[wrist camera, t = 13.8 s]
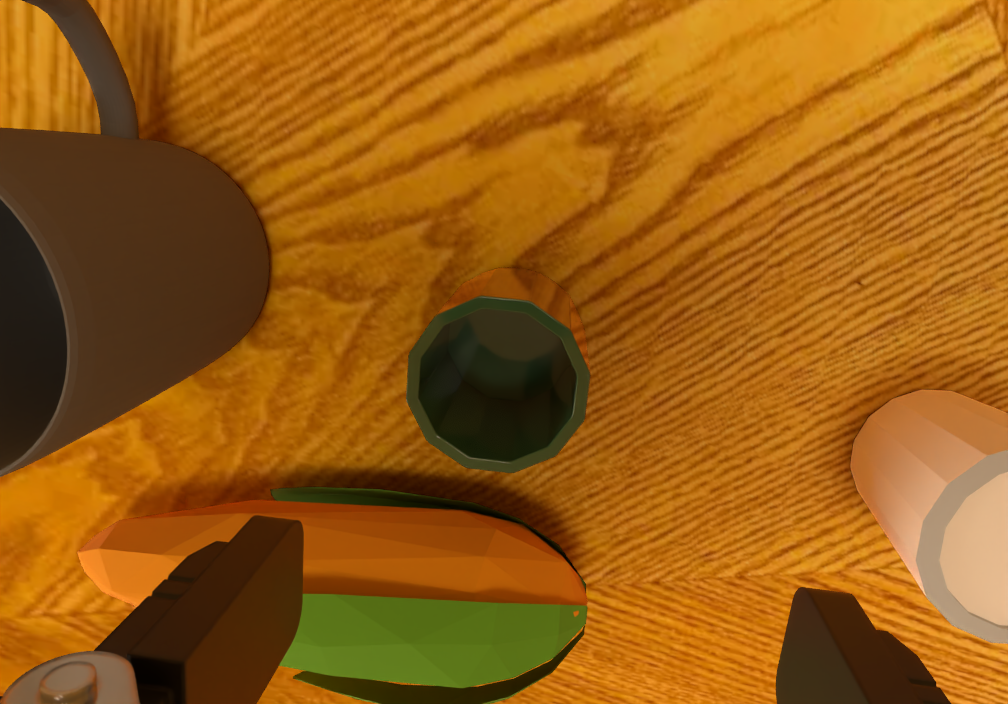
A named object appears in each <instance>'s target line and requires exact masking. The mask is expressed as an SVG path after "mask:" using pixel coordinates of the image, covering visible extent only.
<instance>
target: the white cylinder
mask: <svg viewBox="0 0 1008 704" xmlns="http://www.w3.org/2000/svg"><path fill="white" fill-rule="evenodd" d="M850 468H851V472H852V475H853V478H854V482H855V485H856V488H857V491H858V492H859V494H860V496H861V497H862V499H863V500H864V502H865V503H866V505H867V506H868V508H869V509H870V511H871V513H872V514H873V516H874V517H875V519H876V520H877V522H878V523H879V525H880V526H881V528H882V530H883V531H884V533H885V534H886V536H887V537H888V539H889V540H890V542H891V543H892V545H893V546H894V548H895V550H896V551H897V553H898V554H899V556H900V557H901V559H902V560H903V562H904V563H905V565H906V567H907V568H908V570H909V571H910V573H911V574H912V576H913V577H914V579H915V580H916V582H917V584H918V585H919V587H920V588H921V590H922V591H923V593H924V594H925V596H926V597H927V598H928V599H929V601H930V602H931V603H932V604H933V605H934V606H935V607H936V608H937V609H938V610H939V611H940V612H941V614H942V615H943V616H944V617H945V618H946V619H947V620H948V621H949V622H950V623H951V624H952V625H953V626H955V627H957V628H959V629H961V630H964V631H966V632H968V633H971V634H973V635H975V636H977V637H980V638H982V639H984V640H986V641H989V642H991V643H1007V644H1008V413H1007V412H1004V411H1002V410H999V409H997V408H994V407H992V406H989V405H986V404H984V403H981V402H979V401H976V400H974V399H971V398H969V397H966V396H964V395H961V394H959V393H956V392H954V391H948V390H923V389H921V390H918V391H915V392H912V393H909V394H906V395H903V396H899V397H896V398H893V399H892V400H890V401H889V402H888V403H886V404H885V405H884V406H882V407H881V408H880V409H878V410H877V411H876V412H874V413H873V414H872V415H870V416H869V417H868V419H867V420H866V422H865V424H864V425H863V427H862V428H861V430H860V432H859V433H858V435H857V436H856V438H855V440H854V443H853V450H852V456H851V463H850Z"/></svg>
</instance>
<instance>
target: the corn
mask: <svg viewBox="0 0 1008 704" xmlns="http://www.w3.org/2000/svg"><path fill="white" fill-rule="evenodd" d="M270 491H271V495H272V496H273V498H274V499H275V500H276V501H270V500H249V501H242V502H236V503H229V504H222V505H216V506H209V507H203V508H196V509H189V510H183V511H176V512H169V513H163V514H156V515H150V516H143V517H136V518H130V519H123V520H119V521H117V522H116V523H114V524H113V525H111V526H109V527H108V528H106V529H105V530H103V531H101V532H100V533H98V534H96V535H95V536H94V537H93V538H92V539H91V540H90V541H89V542H88V543H86V544H85V545H84V546H83V547H82V548H81V549H80V550H79V551H78V552H77V554H78V556H79V559H80V561H81V564H82V567H83V569H84V572H85V573H86V574H87V575H88V576H89V578H90V579H91V580H92V581H93V582H94V583H95V584H96V585H97V586H98V587H99V588H100V589H101V590H102V592H103V593H106V594H108V595H110V596H113V597H115V598H118V599H120V600H122V601H125V602H127V603H129V604H132V605H134V606H137V607H138V606H139V605H140V603H141V602H142V601H143V600H144V599H145V598H146V597H147V596H151V595H152V591H153V590H154V589H155V588H156V587H157V586H158V585H159V584H160V583H161V582H162V581H163V580H164V579H166V580H167V579H168V575H169V574H170V573H171V572H172V571H173V570H174V569H175V568H176V567H177V566H178V565H179V564H180V563H181V562H182V561H183V560H184V559H185V558H186V557H187V556H188V555H190V554H192V553H194V552H196V551H198V550H200V549H202V548H204V547H206V546H207V545H209V544H211V543H213V542H215V541H223V542H229V541H230V540H231V539H232V538H233V537H234V536H235V535H236V534H237V533H238V531H239V530H240V529H241V528H242V527H243V526H244V525H245V524H246V523H247V522H248V521H249V519H250V518H252V517H253V516H254V515H261V516H269V517H276V518H284V519H292V520H299V521H300V522H301V523H302V525H303V531H304V550H303V602H302V612H301V618H300V622H299V626H298V629H297V633H296V635H295V638H294V640H293V642H292V644H291V646H290V648H289V649H288V651H287V653H286V654H285V656H284V658H283V659H282V661H281V663H280V665H279V666H284V667H289V668H294V669H299V670H305V671H303V672H301V673H299V674H297V675H295V676H293V679H296V680H299V681H302V682H305V683H309V684H312V685H315V686H318V687H321V688H324V689H327V690H330V691H333V692H336V693H339V694H342V695H346V696H349V697H352V698H355V699H358V700H363V701H368V702H373V703H378V704H491V703H494V702H498V701H501V700H505V699H509V698H510V697H512V696H514V695H515V694H517V693H519V692H520V691H522V690H524V689H525V688H527V687H529V686H530V685H532V684H534V683H536V682H537V681H539V680H541V679H542V678H544V677H546V676H547V675H549V674H551V673H552V672H553V671H554V670H555V669H556V667H557V666H558V665H559V664H560V663H561V661H562V660H563V659H564V658H565V657H566V655H567V654H568V653H569V652H570V651H571V649H572V648H573V647H574V646H575V645H576V643H577V642H578V641H579V640H580V639H581V637H582V636H583V635H584V628H585V624H586V617H587V602H588V601H587V596H586V583H585V582H584V581H583V579H582V578H581V576H580V575H579V573H578V572H577V570H576V569H575V568H574V566H573V565H572V563H571V562H570V560H569V559H568V557H567V556H566V555H565V553H564V552H563V550H562V549H561V547H560V546H559V545H558V544H557V543H555V542H554V541H552V540H551V539H549V538H548V537H546V536H545V535H543V534H542V533H540V532H539V531H537V530H536V529H534V528H532V527H531V526H529V525H528V524H526V523H525V522H523V521H522V520H520V519H519V518H516V517H514V516H511V515H508V514H505V513H502V512H499V511H496V510H493V509H491V508H488V507H485V506H482V505H479V504H476V503H472V502H465V501H458V500H451V499H444V498H438V497H431V496H424V495H417V494H410V493H404V492H397V491H390V490H383V489H359V488H331V487H297V488H279V489H271V490H270ZM583 626H584V627H583ZM582 627H583V630H582V632H581V633H580V634H579V635H578V636H577V637H576V638H574V639H573V640H572V641H571V642H570V643H569V644H568V645H567V646H566V647H565V648H564V649H563V647H564V646H565V645H566V644H567V643H568V642H569V641H570V640H571V639H572V638H573V637H574V636H575V635H576V633H577V632H578V631H579V630H580V629H581V628H582ZM562 649H563V650H562ZM561 650H562V651H561ZM560 651H561V652H560ZM552 658H553V659H552ZM550 659H552V660H551V661H549V662H547V663H545V664H543V665H541V666H539V667H537V668H535V669H533V670H531V671H529V672H527V673H524V672H526V671H528V670H530V669H532V668H534V667H536V666H538V665H540V664H542V663H544V662H546V661H548V660H550ZM522 673H524V674H522ZM520 674H522V675H520ZM518 675H520V676H518ZM516 676H518V677H516ZM514 677H516V678H514ZM510 678H514V679H510ZM505 679H510V680H506V681H501V682H497V683H492V684H488V685H483V686H479V687H471V686H476V685H481V684H486V683H491V682H495V681H500V680H505ZM377 680H381V681H377ZM383 681H392V682H402V683H413V684H423V685H434V686H423V685H400V684H394V683H388V682H383Z"/></svg>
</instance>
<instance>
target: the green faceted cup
mask: <svg viewBox="0 0 1008 704" xmlns="http://www.w3.org/2000/svg"><path fill="white" fill-rule="evenodd" d="M590 376H591V375H590V367H589V359H588V351H587V344H586V336H585V329H584V326H583V324H582V322H581V320H580V317H579V314H578V311H577V309H576V307H575V305H574V303H573V301H572V299H571V297H570V295H569V294H568V293H566V292H565V291H564V290H563V289H562V288H561V287H560V286H559V285H558V284H556V283H555V282H554V281H553V280H551V279H549V278H548V277H546V276H544V275H542V274H540V273H539V272H536V271H532V270H528V269H523V268H513V267H507V268H496V269H493V270H490V271H487V272H484V273H482V274H480V275H478V276H476V277H474V278H472V279H471V280H469V281H467V282H465V283H463V284H462V285H461V286H460V287H459V288H458V289H457V290H456V292H455V293H454V294H453V295H452V296H451V298H450V299H449V300H448V301H447V302H446V303H445V305H444V306H443V307H442V308H441V309H440V311H439V312H438V313H437V314H436V315H435V317H434V318H433V319H432V321H431V322H430V324H429V325H428V327H427V328H426V329H425V331H424V332H423V334H422V335H421V337H420V338H419V340H418V341H417V342H416V344H415V345H414V347H413V348H412V350H411V351H410V352H409V355H408V373H407V390H406V400H407V403H408V405H409V407H410V409H411V411H412V413H413V415H414V417H415V419H416V421H417V423H418V425H419V427H420V429H421V430H422V432H423V434H424V436H425V438H426V440H427V441H428V442H429V443H430V444H432V445H433V446H435V447H436V448H438V449H439V450H440V451H442V452H443V453H445V454H446V455H448V456H449V457H451V458H452V459H454V460H455V461H457V462H458V463H459V464H461V465H462V466H464V467H466V468H471V469H480V470H488V471H497V472H505V473H515V472H517V471H520V470H522V469H525V468H527V467H530V466H533V465H535V464H538V463H540V462H543V461H545V460H548V459H550V458H553V457H555V456H556V455H557V454H558V453H559V452H560V451H561V449H562V448H563V447H564V446H565V444H566V443H567V442H568V441H569V439H570V438H571V437H572V436H573V434H574V433H575V432H576V431H577V429H578V428H579V427H580V426H581V424H582V423H583V422H584V420H585V415H586V407H587V399H588V391H589V384H590Z"/></svg>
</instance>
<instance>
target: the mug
mask: <svg viewBox="0 0 1008 704" xmlns="http://www.w3.org/2000/svg"><path fill="white" fill-rule="evenodd" d="M22 1H25V2H27V3H30V4H33V5H35V6H38V7H39V8H40V9H42V10H43V11H45V12H46V13H48V15H49V16H50V17H51V18H52V19H53V20H54V22H55V23H56V24H57V25H58V27H59V28H60V30H61V32H62V33H63V35H64V36H65V38H66V39H67V41H68V42H69V44H70V46H71V48H72V49H73V51H74V53H75V55H76V56H77V58H78V60H79V62H80V64H81V66H82V68H83V70H84V72H85V74H86V76H87V78H88V80H89V83H90V85H91V88H92V91H93V93H94V96H95V99H96V101H97V106H98V111H99V117H100V126H101V135H99V134H88V133H74V132H60V131H46V130H31V129H14V128H0V477H1V476H4V475H6V474H8V473H11V472H13V471H15V470H18V469H20V468H23V467H25V466H27V465H29V464H31V463H33V462H35V461H37V460H39V459H41V458H43V457H45V456H47V455H49V454H51V453H53V452H55V451H57V450H59V449H60V448H62V447H64V446H66V445H68V444H70V443H72V442H73V441H75V440H77V439H79V438H81V437H83V436H85V435H86V434H88V433H90V432H92V431H94V430H96V429H97V428H99V427H101V426H103V425H105V424H106V423H108V422H110V421H112V420H114V419H115V418H117V417H119V416H121V415H123V414H124V413H126V412H128V411H130V410H131V409H133V408H135V407H137V406H139V405H140V404H142V403H144V402H146V401H148V400H149V399H151V398H153V397H155V396H156V395H158V394H160V393H161V392H163V391H165V390H167V389H168V388H170V387H172V386H174V385H175V384H177V383H179V382H181V381H182V380H184V379H186V378H187V377H189V376H191V375H192V374H194V373H196V372H197V371H199V370H200V369H202V368H204V367H205V366H207V365H209V364H210V363H212V362H213V361H215V360H216V359H218V358H219V357H220V356H222V355H223V354H225V353H226V352H227V351H229V350H230V349H231V348H232V347H233V346H234V345H235V344H237V343H238V342H239V341H240V340H241V339H242V338H243V337H244V336H245V335H246V333H247V332H248V331H249V330H250V328H251V327H252V325H253V324H254V322H255V321H256V319H257V317H258V315H259V313H260V311H261V308H262V306H263V303H264V300H265V296H266V292H267V287H268V280H269V256H268V248H267V243H266V239H265V235H264V232H263V229H262V226H261V224H260V221H259V219H258V217H257V215H256V213H255V211H254V209H253V207H252V205H251V204H250V202H249V201H248V199H247V198H246V196H245V195H244V194H243V192H242V191H241V190H240V188H239V187H238V186H237V185H236V184H235V183H234V182H233V181H232V179H230V178H229V177H228V176H227V175H226V174H225V173H224V172H223V171H222V170H220V169H219V168H218V167H217V166H215V165H214V164H213V163H211V162H210V161H208V160H207V159H205V158H203V157H201V156H200V155H198V154H196V153H194V152H192V151H189V150H187V149H184V148H181V147H178V146H175V145H171V144H168V143H164V142H159V141H154V140H148V139H140V138H139V132H138V119H137V113H136V107H135V101H134V98H133V95H132V92H131V89H130V85H129V82H128V79H127V77H126V74H125V72H124V69H123V67H122V65H121V62H120V60H119V57H118V55H117V53H116V51H115V49H114V47H113V45H112V43H111V40H110V38H109V36H108V34H107V32H106V30H105V28H104V27H103V25H102V23H101V22H100V20H99V18H98V16H97V15H96V13H95V11H94V10H93V8H92V7H91V5H90V4H89V3H88V1H87V0H22Z"/></svg>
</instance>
